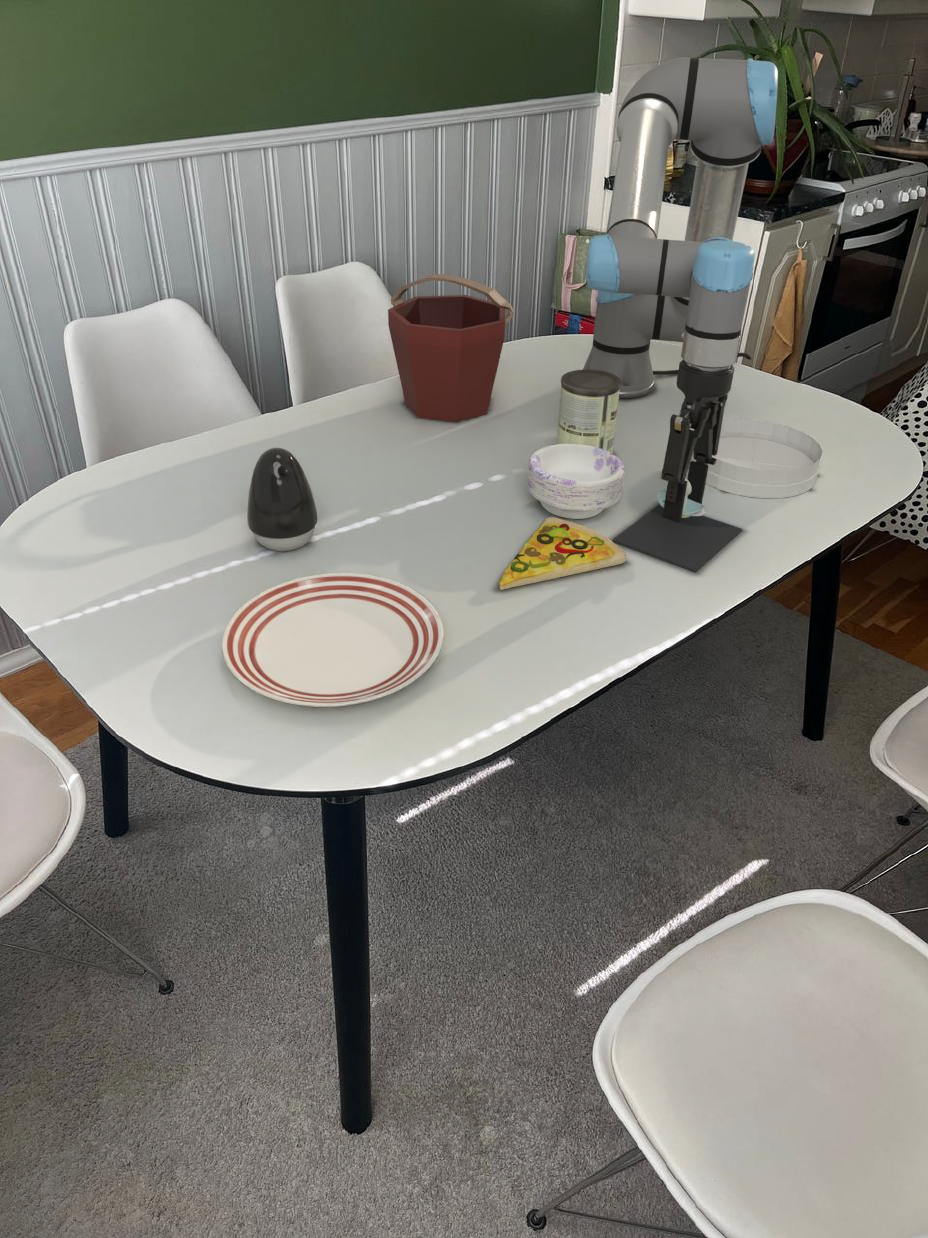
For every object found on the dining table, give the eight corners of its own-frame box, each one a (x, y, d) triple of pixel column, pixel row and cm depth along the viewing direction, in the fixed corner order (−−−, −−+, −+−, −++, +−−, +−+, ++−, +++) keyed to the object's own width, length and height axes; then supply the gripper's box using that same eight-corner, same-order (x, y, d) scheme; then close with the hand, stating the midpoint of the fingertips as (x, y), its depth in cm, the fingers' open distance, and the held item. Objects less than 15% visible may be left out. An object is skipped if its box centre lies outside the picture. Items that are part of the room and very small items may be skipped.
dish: (682, 487, 160) (687, 460, 157) (692, 437, 177) (696, 411, 175) (819, 506, 155) (826, 478, 152) (815, 452, 173) (821, 426, 170)
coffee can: (555, 441, 175) (561, 367, 167) (611, 444, 174) (620, 370, 166) (554, 465, 166) (560, 388, 158) (613, 469, 165) (622, 391, 157)
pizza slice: (632, 559, 140) (635, 542, 138) (539, 613, 128) (541, 594, 126) (553, 522, 149) (555, 505, 147) (460, 569, 137) (460, 551, 135)
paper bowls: (637, 506, 154) (644, 461, 150) (581, 538, 145) (586, 492, 140) (564, 476, 162) (568, 433, 158) (506, 505, 153) (509, 460, 149)
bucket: (530, 407, 188) (538, 278, 174) (457, 440, 174) (460, 303, 160) (438, 376, 201) (439, 254, 187) (364, 405, 187) (359, 275, 173)
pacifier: (674, 498, 148) (650, 509, 144) (681, 461, 144) (657, 471, 141) (713, 515, 143) (690, 526, 140) (721, 477, 140) (697, 488, 136)
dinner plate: (450, 717, 110) (450, 695, 108) (210, 727, 107) (206, 704, 106) (437, 590, 132) (437, 569, 130) (238, 595, 130) (235, 575, 128)
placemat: (661, 504, 155) (662, 502, 155) (741, 530, 148) (742, 528, 148) (612, 541, 144) (612, 539, 144) (695, 572, 137) (696, 570, 137)
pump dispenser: (263, 566, 136) (251, 470, 128) (242, 534, 144) (230, 442, 135) (329, 551, 140) (322, 457, 132) (305, 520, 148) (298, 430, 139)
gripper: (712, 339, 139) (688, 481, 152) (649, 374, 126) (629, 526, 139) (761, 350, 135) (732, 495, 148) (701, 387, 122) (675, 542, 135)
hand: (682, 510), depth 143 cm, fingers closed on pacifier, 6 cm apart
